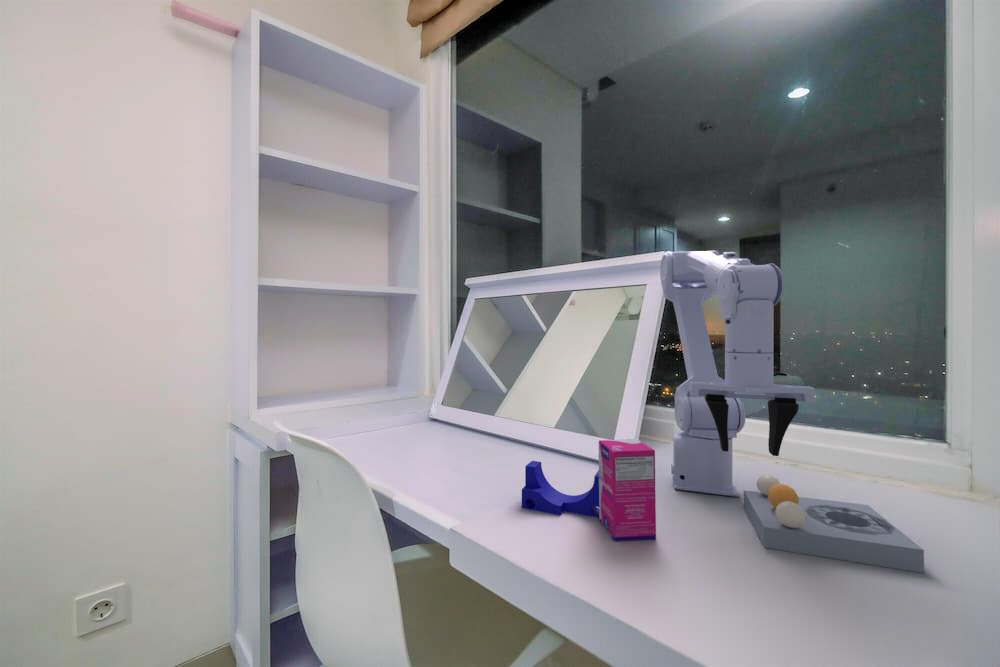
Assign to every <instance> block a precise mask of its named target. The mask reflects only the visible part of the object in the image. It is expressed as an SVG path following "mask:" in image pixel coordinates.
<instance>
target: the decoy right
mask: <svg viewBox="0 0 1000 667" xmlns="http://www.w3.org/2000/svg"><path fill="white" fill-rule="evenodd" d="M776 516H777V518H778V520H779V521H780V522H781V523H782V524H783V525H785V526H787V527H790V528H798V527H800V526H802V525H803V524H804V522H805V519H806V516H805V513H804V511H803V509H802V508H801V507H800V506H799V505H797V504H796V503H794V502H790V501H784V502H781V503H780V504H778V506H777V507H776Z"/></svg>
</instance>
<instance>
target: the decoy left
mask: <svg viewBox="0 0 1000 667" xmlns="http://www.w3.org/2000/svg"><path fill="white" fill-rule="evenodd" d="M777 484H781V483H780V481H779V479H778V478H777V477H775V476H773V475H771V474H762V475H760V476H758V478H757V479H756V489H757V490H758V492H761V493H762V494H764V495H766V496H768V491H769V489H770V488H771V487H772V486H774V485H777Z"/></svg>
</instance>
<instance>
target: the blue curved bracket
mask: <svg viewBox="0 0 1000 667" xmlns="http://www.w3.org/2000/svg"><path fill="white" fill-rule="evenodd" d="M593 477H594V478H593V479H594V480H593V484H592V487H591V488H590V489H589V490H588V491H586V492H584V493H582V494H577V495H575V494H574V495H570V494H566V493H563V492H561V491H559V490H558V489H555V488H554V487H553V486H552V485H551V484H550V483H549V481H548V480H547V478H546V476H545V474H544V471H543V466H542V461H537V460H531V461H530V462H528V463H527V464H526V465H525V478H524V479H525V480H524V481H525V483H524V486H523V487H522V488H521V509H525V510H530V511H535V512H542V513H546V514H552V515H557V516H562V515H563V513H564V512H566V513H571V514H576V515H581V516H587V517H591V518H592V517H593V518H599V469H598V470H597V471H596V473H595V474H594V476H593Z"/></svg>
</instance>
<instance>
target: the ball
mask: <svg viewBox="0 0 1000 667" xmlns="http://www.w3.org/2000/svg"><path fill="white" fill-rule="evenodd" d="M798 497H799V496H798V493H797V492H796V490H794V488H792V487H791V486H788V485H786V484H783V483H780V484H777V485H774V486H772V487H771V488H770V489H769V491H768V499H769V501H770V503H771V504H772V506H774V507H775V508H776V507H777V506H778V504H780V503H781V502H784V501H790V502H794V503H796V504H797V505H798V502H799V499H798Z"/></svg>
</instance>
